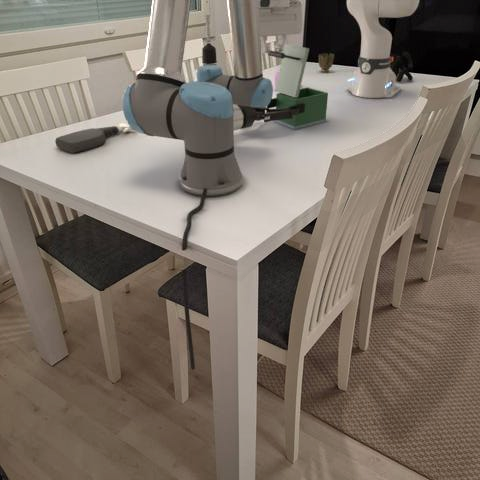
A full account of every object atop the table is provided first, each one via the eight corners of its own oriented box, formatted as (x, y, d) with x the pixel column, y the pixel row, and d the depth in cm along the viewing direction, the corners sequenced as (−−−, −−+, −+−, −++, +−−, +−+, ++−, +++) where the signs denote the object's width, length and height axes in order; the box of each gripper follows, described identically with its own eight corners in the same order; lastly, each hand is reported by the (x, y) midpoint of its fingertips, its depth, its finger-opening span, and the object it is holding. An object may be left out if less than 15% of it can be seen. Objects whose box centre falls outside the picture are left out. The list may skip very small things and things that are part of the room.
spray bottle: (53, 147, 134) (120, 127, 150) (74, 154, 128) (141, 133, 144) (51, 137, 132) (118, 118, 149) (72, 145, 126) (140, 124, 143)
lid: (288, 44, 141) (266, 39, 136) (309, 48, 134) (287, 43, 129) (277, 91, 147) (257, 88, 142) (297, 97, 140) (276, 95, 135)
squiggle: (400, 92, 202) (376, 71, 205) (417, 76, 202) (392, 56, 205) (405, 81, 191) (380, 59, 194) (423, 64, 191) (397, 42, 194)
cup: (315, 72, 216) (316, 55, 212) (320, 69, 222) (321, 52, 218) (330, 73, 213) (331, 56, 209) (334, 71, 219) (336, 53, 215)
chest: (305, 114, 158) (307, 87, 153) (325, 121, 151) (328, 92, 146) (275, 121, 152) (276, 93, 147) (294, 129, 145) (296, 99, 140)
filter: (220, 99, 177) (217, 15, 161) (206, 100, 176) (202, 16, 160) (215, 96, 182) (212, 14, 166) (202, 97, 180) (197, 14, 164)
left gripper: (218, 120, 145) (271, 108, 156) (260, 138, 130) (316, 123, 141) (217, 96, 141) (271, 86, 152) (260, 112, 126) (317, 99, 137)
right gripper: (294, -2, 133) (291, 48, 140) (238, 0, 123) (238, 53, 130) (309, -1, 129) (305, 50, 136) (252, 1, 119) (251, 56, 126)
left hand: (292, 104), depth 146 cm, fingers closed on chest, 10 cm apart
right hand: (272, 52), depth 133 cm, fingers open, 4 cm apart
